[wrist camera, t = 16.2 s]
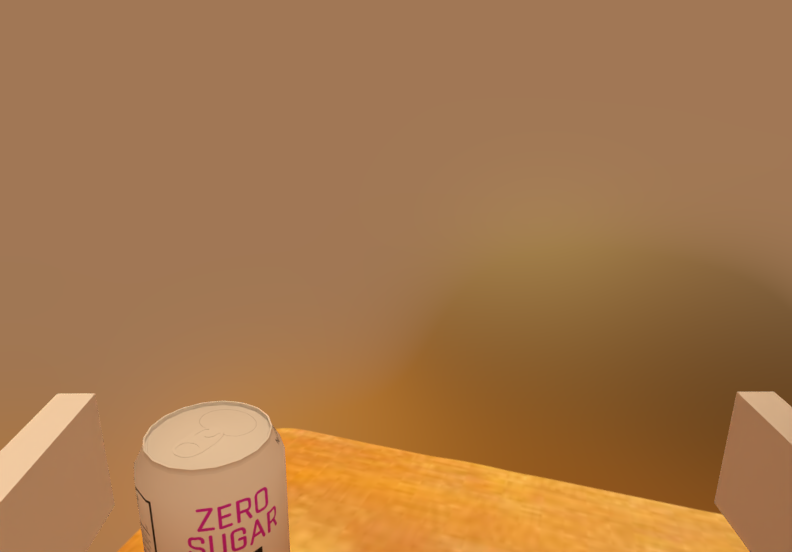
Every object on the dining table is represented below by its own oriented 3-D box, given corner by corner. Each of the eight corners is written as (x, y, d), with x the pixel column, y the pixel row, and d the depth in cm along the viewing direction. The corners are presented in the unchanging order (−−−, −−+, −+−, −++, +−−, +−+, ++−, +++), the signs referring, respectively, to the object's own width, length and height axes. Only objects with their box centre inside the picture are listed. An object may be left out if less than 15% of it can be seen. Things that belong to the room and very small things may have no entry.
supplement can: (224, 570, 45) (206, 384, 40) (318, 616, 42) (311, 417, 37) (130, 659, 38) (96, 447, 34) (233, 723, 35) (211, 496, 30)
